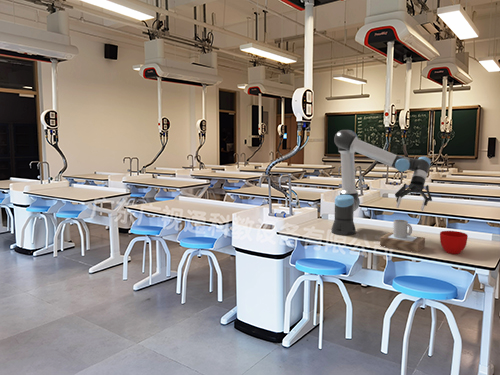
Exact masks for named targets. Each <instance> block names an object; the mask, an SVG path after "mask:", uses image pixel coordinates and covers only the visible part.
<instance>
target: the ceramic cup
mask: <svg viewBox="0 0 500 375" xmlns="http://www.w3.org/2000/svg"><path fill="white" fill-rule="evenodd" d="M439 241H440V245H441V247H442V249H443V250H444V252H445V253H447V254H450V253H451V254H453V255H458V254H459V255H460V253H462V252H463V251H464V249H465V248H466V246H467V243H468V233H465V232H461V231H455V230H444V231H440V232H439ZM451 254H450V255H451Z"/></svg>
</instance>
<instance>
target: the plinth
mask: <svg viewBox="0 0 500 375" xmlns="http://www.w3.org/2000/svg"><path fill="white" fill-rule="evenodd" d="M379 238H380V239H379V246H380V245H381V246H385V247H384V248H387V247H389V249H393V248H394V250H400V251H405V250H406V252H411V251H412V252H411V253H417V252H418V253H419V252H420V251H422V250H423V249H424V248H425V246H426V244H425V243H426V237H422V236H415V235H409V236H407V237H406V238H396V237H394V236H393V232H387V233H386V234H384V235H382V236H380V237H379ZM381 246H380V247H381Z"/></svg>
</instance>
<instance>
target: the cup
mask: <svg viewBox="0 0 500 375" xmlns="http://www.w3.org/2000/svg"><path fill="white" fill-rule="evenodd" d="M392 229H393V231H392V233H393V236H394V237H396V238H406V237H407V236H412V233H413V226H412V225H411V224H410V223H408V220H404V219H393V228H392Z"/></svg>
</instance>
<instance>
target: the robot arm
mask: <svg viewBox="0 0 500 375" xmlns="http://www.w3.org/2000/svg"><path fill="white" fill-rule="evenodd" d="M358 137H359V136H358V135H357V133H356V132H355V131H354V130H351V129H341V130H339V131H337V132H336V133H335V135H334V140H333V141H334V144H335V145H336V147H337V150H338V153H340V164H341V165H340V169H341V174H340V175H341V190H340V191H339V194H338V195H336V196H335V198H334V219H333V222H332V226H331V233H332V234H334V235H339V236H350V235H351V236H352V235H355V234H357V229H356V225H355V223H354V222H355V221H354V213H355V212H356V210H358V209H359V207H360V204H361V203H360V202H361V200H360V198H359V192H358V190H357V189H356V169H355V153H358V154H360V155H361V156H362V155H363V156H365V157H367V158H369V159H371V160H375V161H377V162H380V163H381V164H384V165H386V166H389V167H391V168H393V169H396V170H397V171H398V172H401V173H403V172H407V171H411V172H413V173H412V177H411V180H410V182H409V184H407V183H404V184H403V186H402V187H401V188H400V189H399V190H398V191H397V192H395V193H394V196H395V199H396V200H395V201H396V209H400V205H401V203H402V198H403V197H405V196H407V195H408V194H411V193H416V194H418V193H419V194H420V195H421V196H422V198H423V200H422V203H421V208H420V209H421V211H422V212H424V210H425V207H426V206H428V202H432V201H433V199H432V196H431V193H430V186H429V185H428V184H427V185H425V184H426V183H425V182H426V180H427V176H428V174H429V170H430V166H431V162H432V161H431V158H429V157H427V156H424V155H423V156H420V157H418V159H417V158H412V157H407V156H404V155H398V154H395V153H393V152H390V151H387V150H385V149H383V148H381V147H378V146H376V145H373V144H370V143H368V142H366V141H363V140H361V139H359V138H358ZM423 190H425V191H426V193H425V192H424V191H423Z"/></svg>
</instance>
